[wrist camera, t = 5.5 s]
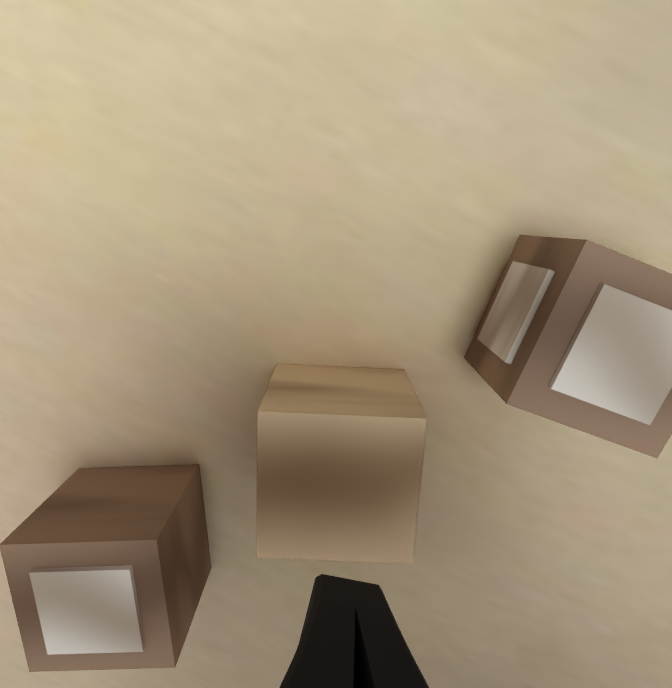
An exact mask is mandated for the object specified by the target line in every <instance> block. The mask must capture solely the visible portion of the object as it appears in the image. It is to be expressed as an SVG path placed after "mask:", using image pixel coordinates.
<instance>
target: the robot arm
mask: <svg viewBox="0 0 672 688" xmlns="http://www.w3.org/2000/svg"><path fill="white" fill-rule="evenodd" d="M280 688H429V687H428V685H427V683H426V681H425V679H424V677H423V675H422V673H421V671H420V670H419V668H418V666H417V664H416V662H415V660H414V658H413V656H412V654H411V652H410V650H409V648H408V646H407V644H406V642H405V640H404V638H403V636H402V634H401V631H400V629H399V627H398V625H397V623H396V621H395V619H394V616H393V614H392V612H391V610H390V608H389V605H388V603H387V601H386V598H385V596H384V594H383V591H382V590H381V588H380V586H379V585H376V584H371V583H366V582H360V581H355V580H350V579H345V578H340V577H334V576H329V575H324V574H321V575H320V576H318V577H316V578H315V582H314V586H313V590H312V594H311V598H310V602H309V606H308V610H307V614H306V618H305V622H304V626H303V630H302V634H301V638H300V642H299V645H298V648H297V650H296V653H295V655H294V658H293V660H292V662H291V664H290V666H289V669H288V671H287V673H286V675H285V677H284V679H283V681H282V684H281V686H280Z"/></svg>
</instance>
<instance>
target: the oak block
mask: <svg viewBox="0 0 672 688" xmlns="http://www.w3.org/2000/svg"><path fill="white" fill-rule="evenodd" d="M426 425H427V418H426V415H425V413H424V411H423V409H422V407H421V405H420V402H419V400H418V398H417V396H416V394H415V392H414V389H413V387H412V385H411V383H410V381H409V379H408V376H407V374H406V372H405V370H404V369H385V368H362V367H340V366H318V365H296V364H277V365H276V367H275V370H274V372H273V375H272V377H271V380H270V382H269V384H268V387H267V389H266V392H265V394H264V397H263V399H262V401H261V404H260V406H259V409H258V411H257V532H256V558H274V559H299V560H325V561H350V562H375V563H400V564H413V554H414V544H415V534H416V524H417V515H418V505H419V495H420V485H421V475H422V465H423V455H424V445H425V435H426Z"/></svg>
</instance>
